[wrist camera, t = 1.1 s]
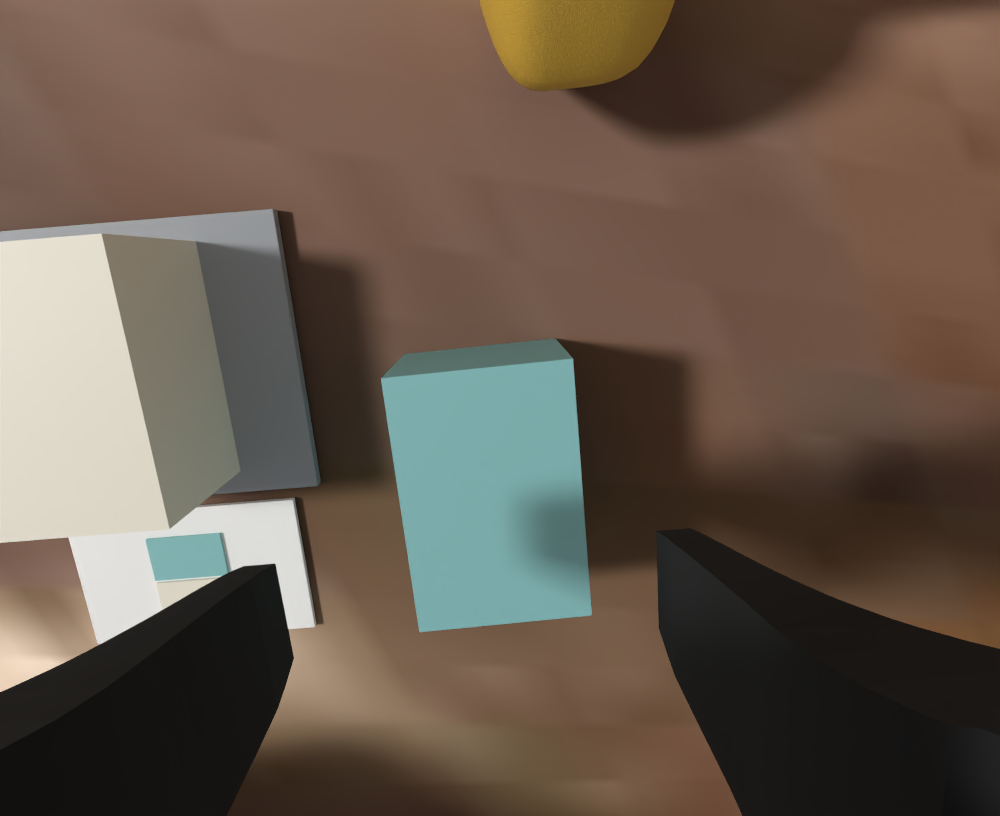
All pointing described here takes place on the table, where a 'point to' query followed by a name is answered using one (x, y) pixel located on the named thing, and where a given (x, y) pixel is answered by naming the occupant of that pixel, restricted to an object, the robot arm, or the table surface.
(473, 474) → the brick teal
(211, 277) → the build board
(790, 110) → the table surface
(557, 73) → the dumbbell
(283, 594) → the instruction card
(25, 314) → the brick cream
